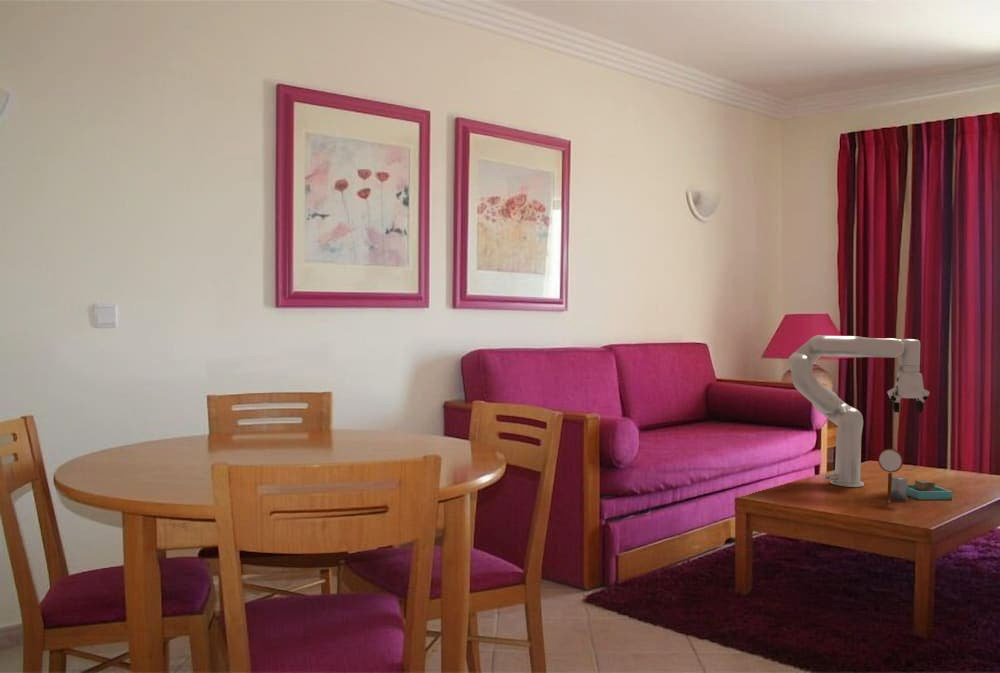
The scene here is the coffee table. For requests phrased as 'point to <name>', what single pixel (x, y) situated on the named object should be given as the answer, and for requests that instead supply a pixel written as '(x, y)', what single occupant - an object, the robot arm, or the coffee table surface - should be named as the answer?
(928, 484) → the walnut block
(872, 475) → the coffee table surface
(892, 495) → the metal tin
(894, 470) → the magnifying glass
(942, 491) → the teal tray
